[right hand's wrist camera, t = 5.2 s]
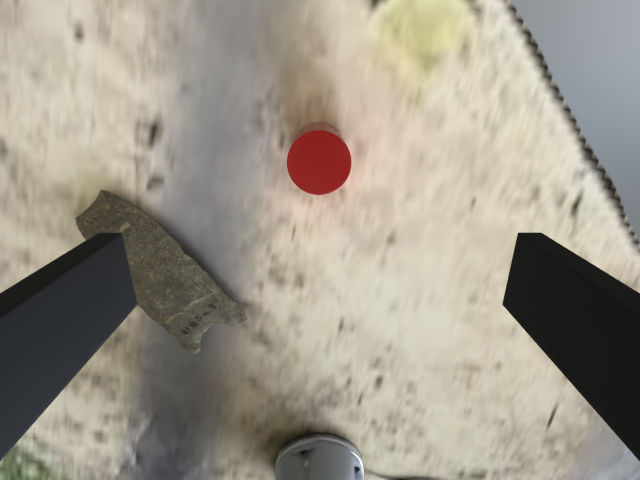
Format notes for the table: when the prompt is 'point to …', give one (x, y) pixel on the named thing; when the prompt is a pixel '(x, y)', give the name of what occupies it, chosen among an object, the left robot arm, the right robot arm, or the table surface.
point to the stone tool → (162, 272)
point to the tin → (319, 159)
